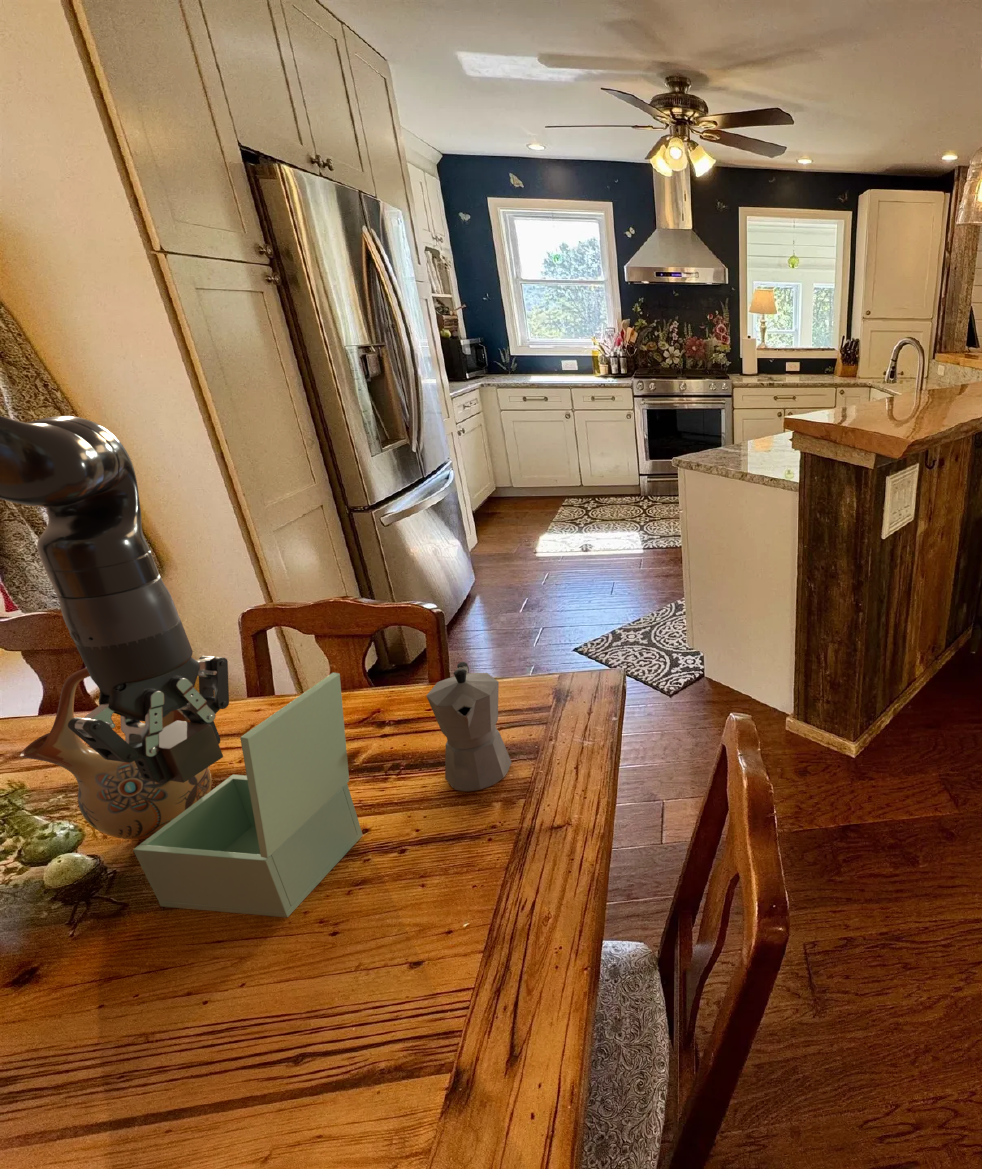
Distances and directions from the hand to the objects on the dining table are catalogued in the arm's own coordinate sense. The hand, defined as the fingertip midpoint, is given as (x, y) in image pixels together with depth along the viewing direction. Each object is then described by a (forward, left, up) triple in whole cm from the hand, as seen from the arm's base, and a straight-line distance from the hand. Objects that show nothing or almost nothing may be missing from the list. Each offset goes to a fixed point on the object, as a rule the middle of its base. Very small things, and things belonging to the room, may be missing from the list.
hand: (186, 764), depth 68 cm
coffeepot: (+17, +24, -18) cm, 35 cm away
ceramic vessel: (-18, +8, -18) cm, 27 cm away
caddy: (+1, +3, -18) cm, 19 cm away
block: (0, 0, 0) cm, 0 cm away
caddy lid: (+10, +3, -1) cm, 11 cm away
